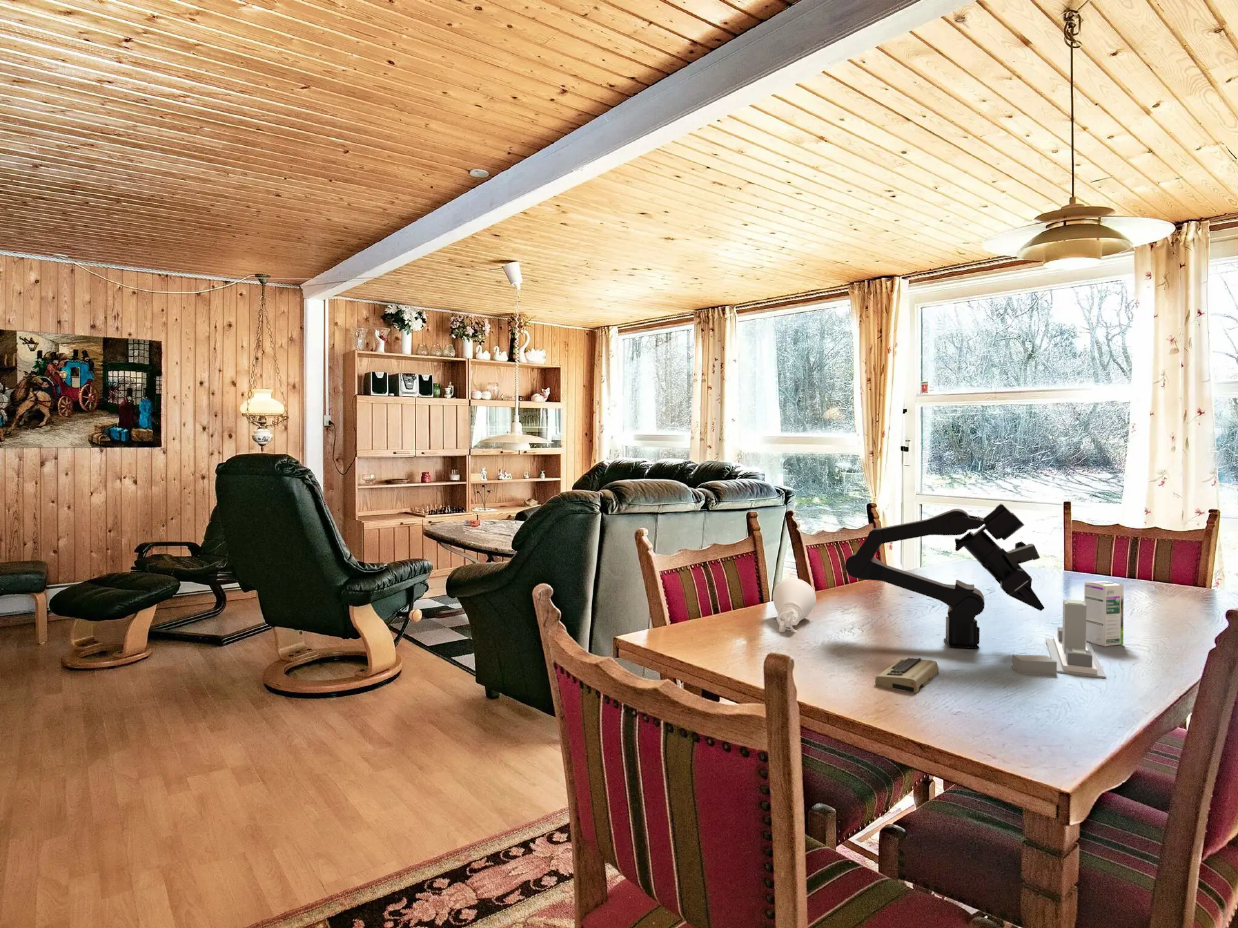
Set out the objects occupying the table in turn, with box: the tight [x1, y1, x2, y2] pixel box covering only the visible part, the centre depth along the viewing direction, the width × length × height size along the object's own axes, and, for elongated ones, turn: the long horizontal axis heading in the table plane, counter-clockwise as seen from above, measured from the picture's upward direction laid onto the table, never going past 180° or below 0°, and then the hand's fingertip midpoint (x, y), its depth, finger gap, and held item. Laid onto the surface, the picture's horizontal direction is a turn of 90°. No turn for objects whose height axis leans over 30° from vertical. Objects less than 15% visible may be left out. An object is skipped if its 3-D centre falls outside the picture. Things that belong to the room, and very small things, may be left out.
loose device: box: [1011, 654, 1058, 676], centre depth 155 cm, size 7×4×3 cm, turn 84°
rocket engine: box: [772, 577, 817, 633], centre depth 193 cm, size 12×12×18 cm
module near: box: [1066, 648, 1092, 668], centre depth 156 cm, size 4×4×3 cm
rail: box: [1045, 635, 1107, 679], centre depth 165 cm, size 9×28×1 cm, turn 153°
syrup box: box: [1083, 580, 1125, 647], centre depth 177 cm, size 6×6×14 cm
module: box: [1062, 598, 1087, 653], centre depth 165 cm, size 4×5×11 cm
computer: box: [874, 657, 940, 694], centre depth 150 cm, size 16×8×3 cm, turn 142°
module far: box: [1056, 626, 1063, 642], centre depth 174 cm, size 4×4×3 cm
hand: (1039, 605), depth 168 cm, fingers open, 9 cm apart
